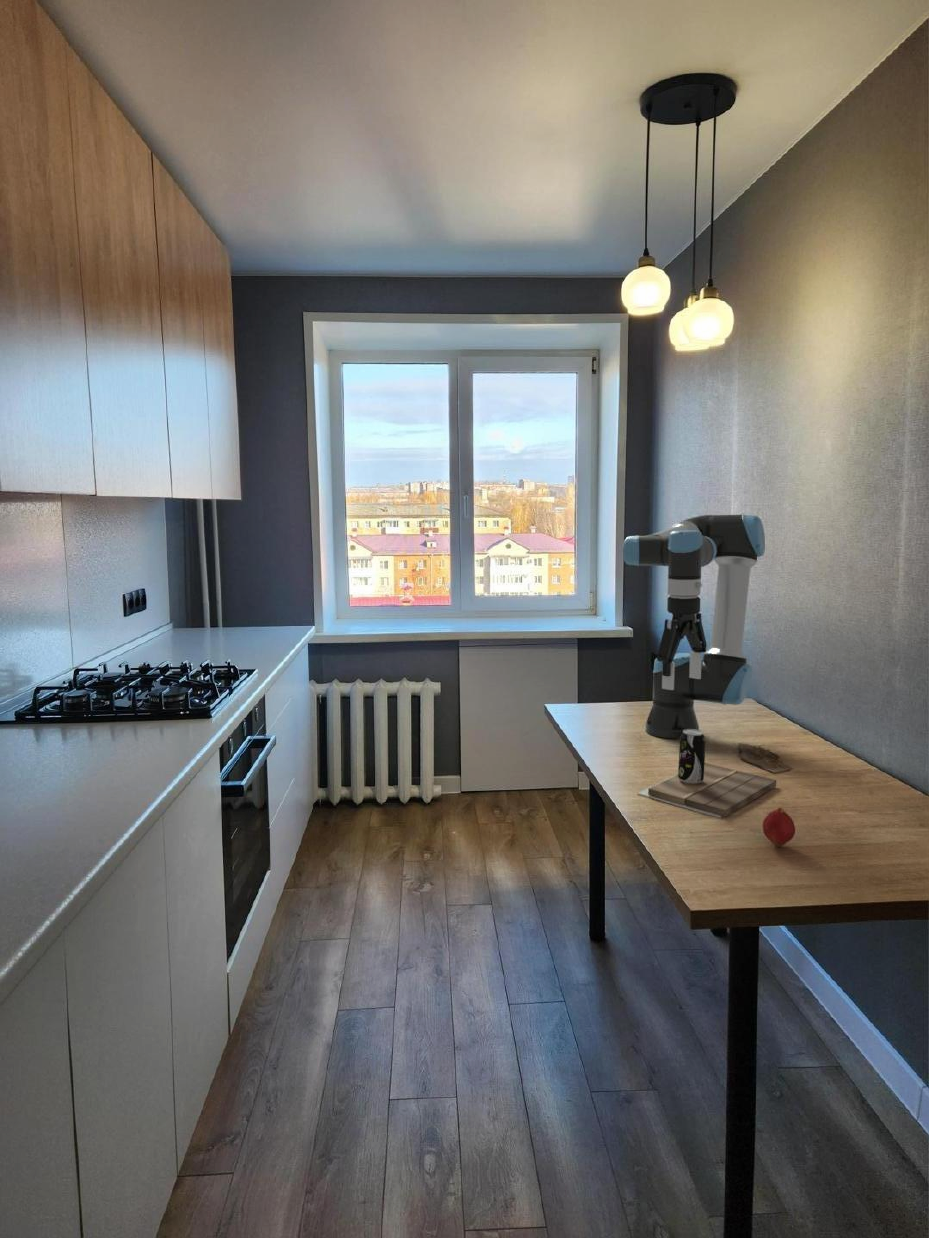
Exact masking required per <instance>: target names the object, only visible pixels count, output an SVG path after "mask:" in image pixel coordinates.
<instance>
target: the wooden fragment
mask: <svg viewBox="0 0 929 1238" xmlns="http://www.w3.org/2000/svg"><path fill="white" fill-rule="evenodd" d="M738 748H739V749H738V750H739V757H740V760H742V761H745V762H748V763H750V764H752V765H755V766H757V767H759V768H761V769H764V770H766V771H770V772H772V773H773V774H774V775H775V774H783V773H785V772H789V771H792V770H793V767H791V766H789V765H788V764H786V763H784V761H782V760H779V758H780V755H779V754H777V753H774V752H772V751H771V750H769V749H765V747H762V746H755V745H751V744H747V743H742V742H738Z"/></svg>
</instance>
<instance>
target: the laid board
mask: <svg viewBox="0 0 929 1238" xmlns="http://www.w3.org/2000/svg"><path fill="white" fill-rule="evenodd" d="M777 782H778V781H777V779H773V778H770V777H766V776H761V775H758V774H753V773H749V772H744V771H738V772H737V773H735V774H733V775H731V776H729V777H728V778H726V779H724V780H722V781H720V782H718V783H716V784H714V785H712V786H710V787H708V788H706V789H705V790H703V791H701V792H699V793H697V794H695V795H693V796H691V797H689V798H687V799H686V806H688V807H692V808H695V809H699V810H702V811H706V812H709V813H713V814H716V815H720V816H722V818H723V817H724V818H725V817H728V816H729V815H730V814H732V813H734V812H735V811H737V810H739V809H741V808H742V807H743V806H745V805H747V804H749V803H750V802H752V801H754V800H756V799H757V798H760V797H761V796H762V795H764V794H766V793H768V792H769V791H771V790H773V789H774V788H776V787H777Z"/></svg>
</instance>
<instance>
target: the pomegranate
mask: <svg viewBox="0 0 929 1238" xmlns="http://www.w3.org/2000/svg"><path fill="white" fill-rule="evenodd" d="M761 826H762V827H761V828H762V831H763V834H764V836H765V837H766V839H767V840H768V841H770V842H771V843H772V844H773V845H774V846H775V847H776V848H777V847H778V848H779V847H782V846H784V845H785V844H787V843H789V842H790V841H792V840H793V838H794V837H795V836H796V835H795V834H796V826H795V823H794V821H793V818H792V817H791V816H790V815H789V814H788V813H787V812H785V811H784V809H783V807H782V806H778V807H777V808H776V809H775V810H773V811H770V812H769V813H768V814H767V815H766V816H765V817H764V819H763V822H762V825H761Z"/></svg>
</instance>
